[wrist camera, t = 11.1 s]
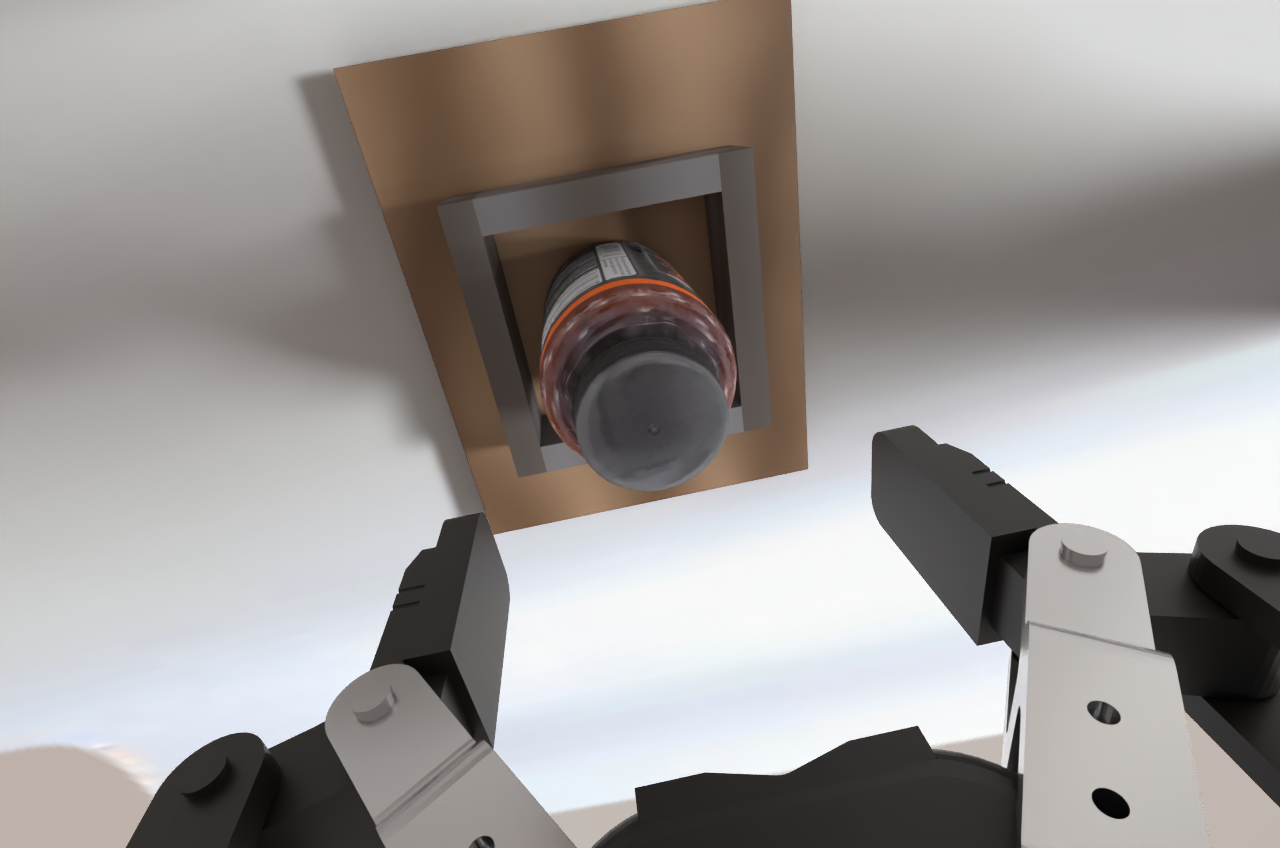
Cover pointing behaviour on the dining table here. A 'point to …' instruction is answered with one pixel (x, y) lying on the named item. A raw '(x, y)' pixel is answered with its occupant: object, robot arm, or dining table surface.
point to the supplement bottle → (634, 367)
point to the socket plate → (594, 222)
